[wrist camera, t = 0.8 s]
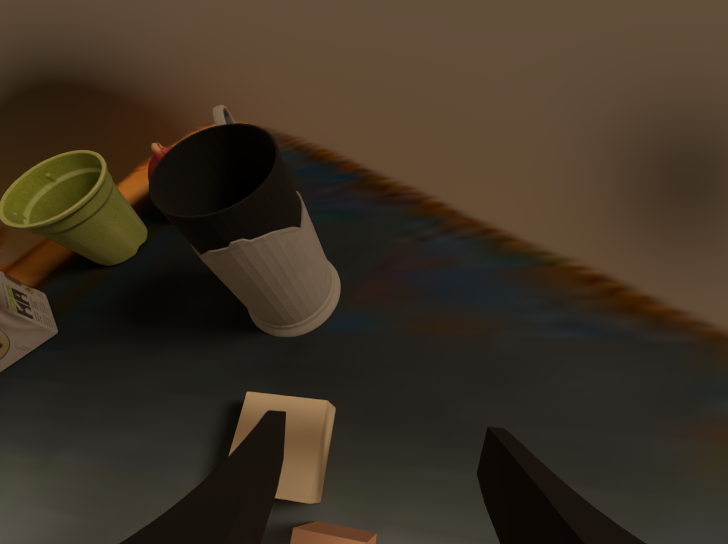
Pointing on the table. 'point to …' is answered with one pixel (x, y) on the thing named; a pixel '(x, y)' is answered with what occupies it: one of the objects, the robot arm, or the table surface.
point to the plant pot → (75, 208)
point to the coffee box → (22, 320)
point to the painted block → (330, 534)
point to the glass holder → (248, 224)
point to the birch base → (294, 441)
